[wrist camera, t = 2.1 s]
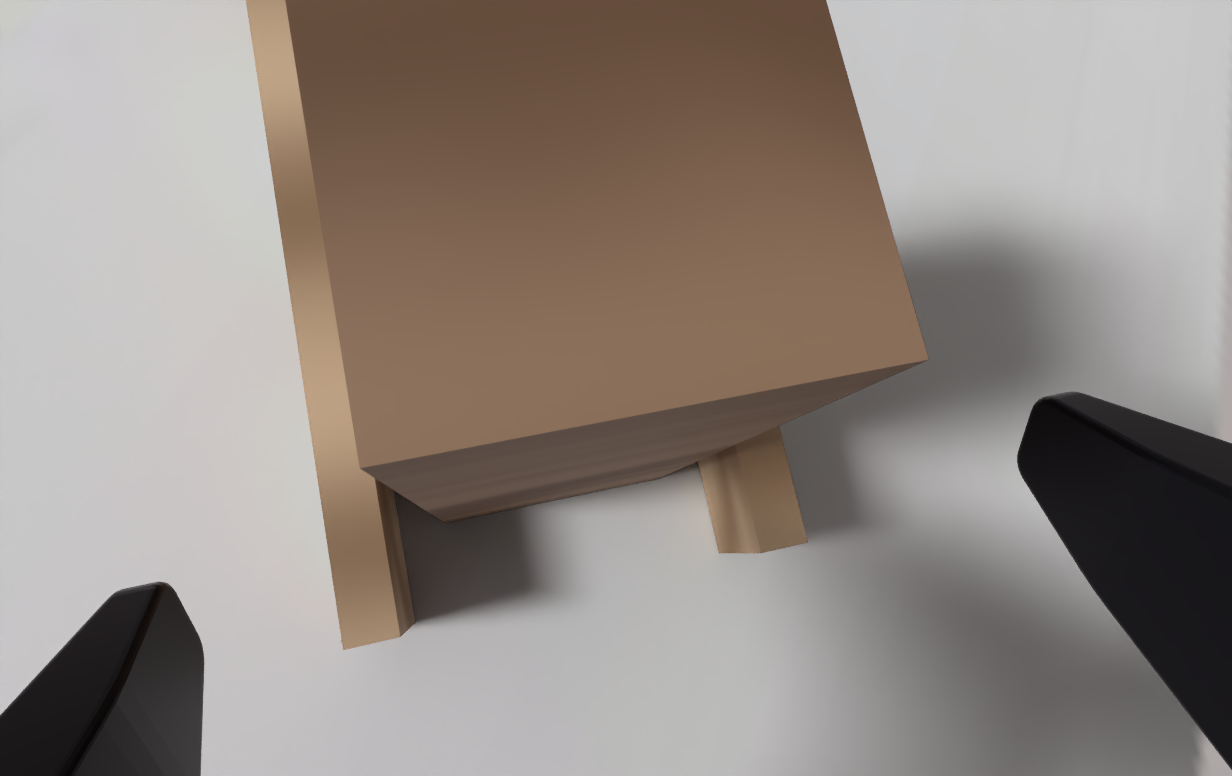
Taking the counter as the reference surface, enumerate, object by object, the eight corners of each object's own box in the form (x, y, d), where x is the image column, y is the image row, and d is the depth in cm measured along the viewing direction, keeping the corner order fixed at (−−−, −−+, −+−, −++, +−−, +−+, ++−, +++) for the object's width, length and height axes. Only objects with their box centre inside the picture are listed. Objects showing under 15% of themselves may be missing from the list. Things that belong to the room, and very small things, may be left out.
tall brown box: (658, 478, 19) (928, 360, 7) (444, 522, 18) (360, 468, 6) (613, 279, 20) (792, -116, 8) (407, 311, 19) (272, -85, 7)
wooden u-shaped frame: (758, 543, 19) (828, 541, 15) (368, 633, 17) (332, 657, 13) (582, -189, 22) (602, -346, 18) (242, -175, 21) (184, -345, 17)
